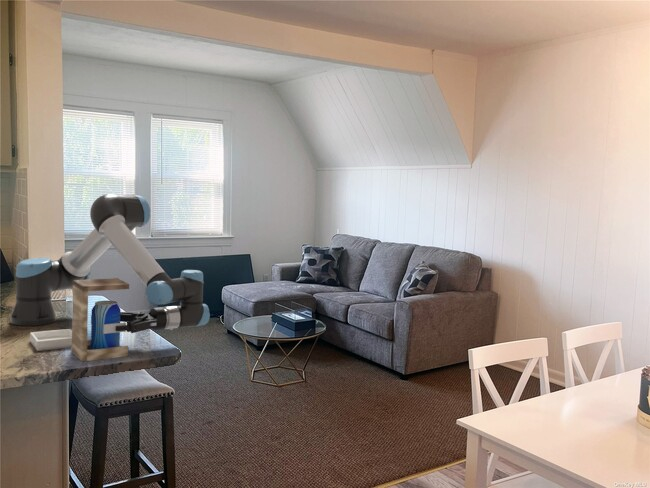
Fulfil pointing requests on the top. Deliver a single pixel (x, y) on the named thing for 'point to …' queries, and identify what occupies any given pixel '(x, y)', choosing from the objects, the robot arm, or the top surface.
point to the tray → (51, 339)
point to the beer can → (104, 315)
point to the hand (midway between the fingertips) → (97, 324)
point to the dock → (81, 319)
